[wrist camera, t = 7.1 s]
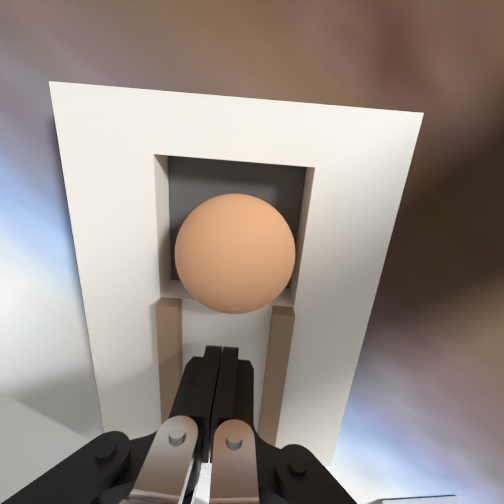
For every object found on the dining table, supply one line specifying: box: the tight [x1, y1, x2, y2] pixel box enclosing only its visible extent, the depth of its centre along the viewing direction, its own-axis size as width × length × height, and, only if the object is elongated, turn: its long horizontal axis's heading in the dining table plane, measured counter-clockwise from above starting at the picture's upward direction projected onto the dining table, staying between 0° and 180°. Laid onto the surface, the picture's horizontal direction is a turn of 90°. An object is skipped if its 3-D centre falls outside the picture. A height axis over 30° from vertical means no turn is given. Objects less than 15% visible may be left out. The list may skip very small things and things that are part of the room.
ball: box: [175, 194, 295, 314], centre depth 12 cm, size 5×5×5 cm
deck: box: [49, 81, 424, 466], centre depth 14 cm, size 20×14×3 cm
